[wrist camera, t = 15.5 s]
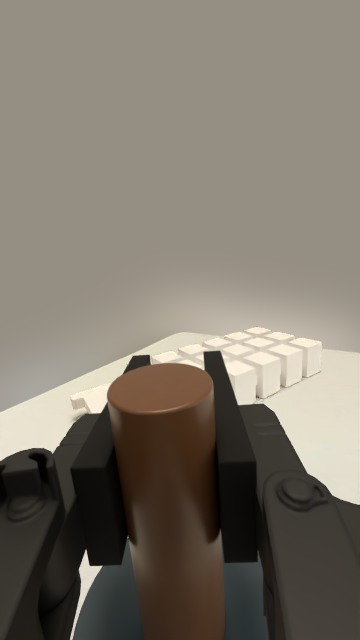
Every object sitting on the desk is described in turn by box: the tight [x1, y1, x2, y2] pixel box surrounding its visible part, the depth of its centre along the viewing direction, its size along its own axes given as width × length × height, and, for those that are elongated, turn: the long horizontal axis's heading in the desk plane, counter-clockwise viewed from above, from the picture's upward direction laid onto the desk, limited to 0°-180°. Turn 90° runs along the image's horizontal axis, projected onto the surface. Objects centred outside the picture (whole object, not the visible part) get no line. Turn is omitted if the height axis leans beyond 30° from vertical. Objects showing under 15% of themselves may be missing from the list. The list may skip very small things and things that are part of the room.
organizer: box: [70, 327, 322, 414], centre depth 39 cm, size 13×5×35 cm
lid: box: [73, 363, 269, 640], centre depth 7 cm, size 6×6×9 cm
